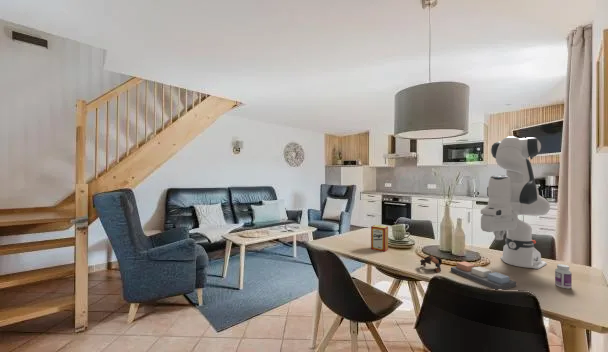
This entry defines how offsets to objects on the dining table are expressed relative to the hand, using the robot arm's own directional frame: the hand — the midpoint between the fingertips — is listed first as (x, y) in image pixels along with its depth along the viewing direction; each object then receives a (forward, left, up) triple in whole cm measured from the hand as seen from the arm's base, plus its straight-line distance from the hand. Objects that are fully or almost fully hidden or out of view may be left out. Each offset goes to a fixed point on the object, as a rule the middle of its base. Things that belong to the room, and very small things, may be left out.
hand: (499, 239), depth 119 cm
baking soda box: (+16, -66, -21) cm, 71 cm away
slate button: (0, 0, -20) cm, 20 cm away
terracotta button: (0, -16, -20) cm, 25 cm away
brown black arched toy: (+12, -26, -21) cm, 36 cm away
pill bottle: (-26, +12, -21) cm, 36 cm away
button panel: (0, -8, -21) cm, 23 cm away
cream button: (0, -8, -20) cm, 21 cm away
